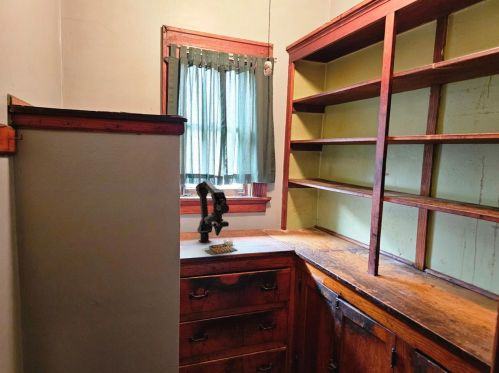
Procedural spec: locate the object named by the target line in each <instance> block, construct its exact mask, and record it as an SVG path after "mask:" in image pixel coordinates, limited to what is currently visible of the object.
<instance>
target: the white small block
mask: <svg viewBox="0 0 499 373" xmlns="http://www.w3.org/2000/svg"><path fill="white" fill-rule="evenodd" d="M223 244H226V245H227V246H228V247H229V246H231V247H233V245H234V239H232V238H225V239H223Z"/></svg>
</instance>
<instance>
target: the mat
mask: <svg viewBox="0 0 499 373" xmlns="http://www.w3.org/2000/svg"><path fill="white" fill-rule="evenodd" d="M228 247H229V248H230V249H232V251H230V250H229V251H227V252H225V251H224V252H222V251H221V252H219V253H217V252H215V251H212V250H211V249H209V248H208V249H204V252H205V253H207V254H209V255H211V256H214V255H219V254H226V253H232V252H237V251H238V249H237V248H235V247H233V246H228ZM213 254H214V255H213Z"/></svg>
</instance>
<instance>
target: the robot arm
mask: <svg viewBox="0 0 499 373" xmlns="http://www.w3.org/2000/svg"><path fill="white" fill-rule="evenodd" d="M195 191H196V194H197V196H198V197H199V205H200V216H201V218H200V221H199V224H198V227H197V233H198V234H199V237H200V238H199V239H198V242H200V243H202V244H203V243H211V240H210V237H209V235H210V234H211V233H212V232H213V229H214V232H215V236H216V237H217V236H219V235H220V233H221V231H222V229H223V228H226V227H229V225H230V222H228V221H226V220H224V218H223V215H224V214H227V213H228V212H229V211H230V206H229V205H228V204H227V202H228V201H227V197H226V194H225V192H224V190H222V189H219V188H217V187H216V186H215V185H214V184H213V183H212V181H210V180H203V181H202V182H200V183H198V184H197V185H195ZM209 193H210V198H211V199H212V211H211V215H209V207H208V195H209Z"/></svg>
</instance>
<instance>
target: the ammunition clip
mask: <svg viewBox="0 0 499 373" xmlns="http://www.w3.org/2000/svg"><path fill="white" fill-rule="evenodd" d="M209 249H211V250H212V251H215V252H217V253H219V252H221V251H222V252H224V251H225V252H226V253H228V252H227V251H229V250H230V251H232V249H230V248H229V246H227V245H226V244H224V243H220V244H219V243H218V244H211V245H208V250H209Z"/></svg>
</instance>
